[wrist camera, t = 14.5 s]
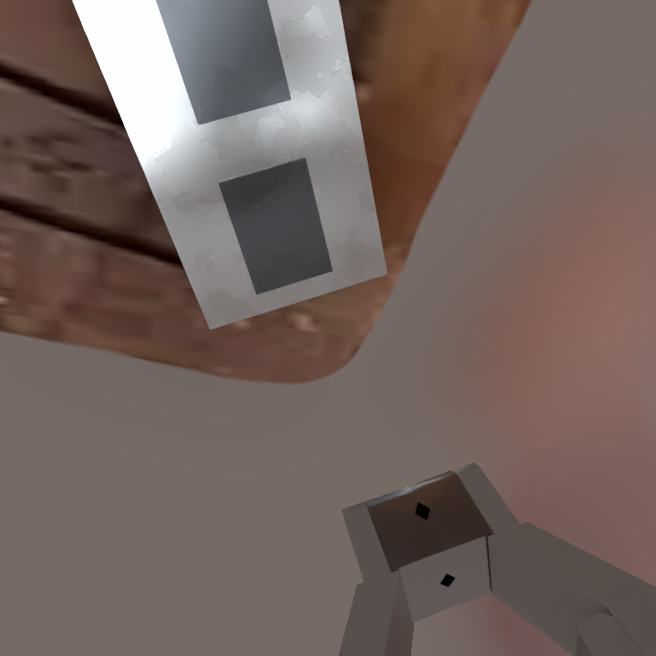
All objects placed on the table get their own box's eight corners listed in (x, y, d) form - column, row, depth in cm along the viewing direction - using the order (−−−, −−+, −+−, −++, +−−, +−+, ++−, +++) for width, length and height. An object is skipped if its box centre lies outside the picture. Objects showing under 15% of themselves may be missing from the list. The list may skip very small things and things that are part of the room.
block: (18, -153, 20) (-52, -240, 15) (286, -211, 21) (315, -313, 16) (209, 312, 32) (210, 362, 27) (375, 261, 33) (410, 299, 28)
